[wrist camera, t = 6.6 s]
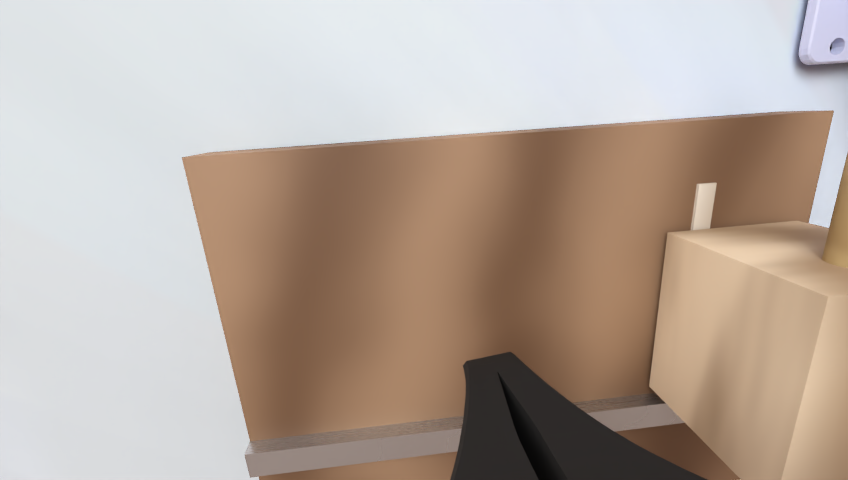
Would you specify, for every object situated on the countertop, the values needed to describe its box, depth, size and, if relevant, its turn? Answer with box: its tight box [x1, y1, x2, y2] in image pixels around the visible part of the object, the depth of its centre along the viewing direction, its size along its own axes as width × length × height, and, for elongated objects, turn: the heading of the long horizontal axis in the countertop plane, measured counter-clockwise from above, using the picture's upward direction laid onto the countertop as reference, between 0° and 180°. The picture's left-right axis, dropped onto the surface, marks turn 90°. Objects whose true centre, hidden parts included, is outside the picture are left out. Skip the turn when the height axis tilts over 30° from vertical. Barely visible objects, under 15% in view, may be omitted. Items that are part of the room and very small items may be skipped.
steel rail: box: [245, 393, 685, 477], centre depth 15 cm, size 20×1×1 cm, turn 94°
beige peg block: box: [649, 153, 848, 480], centre depth 11 cm, size 5×9×5 cm, turn 4°
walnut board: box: [182, 111, 834, 480], centre depth 15 cm, size 20×15×2 cm
